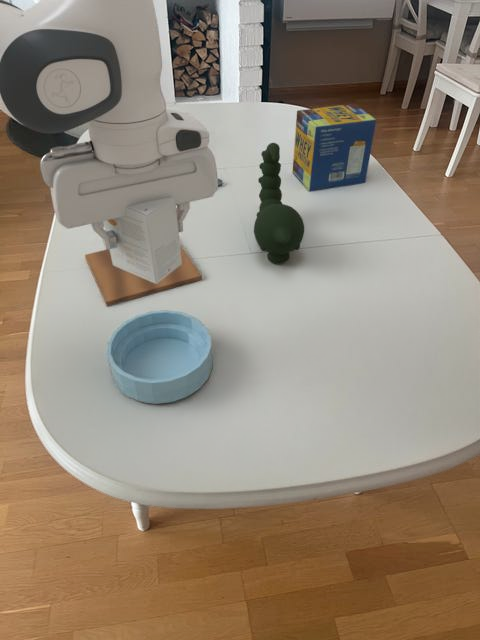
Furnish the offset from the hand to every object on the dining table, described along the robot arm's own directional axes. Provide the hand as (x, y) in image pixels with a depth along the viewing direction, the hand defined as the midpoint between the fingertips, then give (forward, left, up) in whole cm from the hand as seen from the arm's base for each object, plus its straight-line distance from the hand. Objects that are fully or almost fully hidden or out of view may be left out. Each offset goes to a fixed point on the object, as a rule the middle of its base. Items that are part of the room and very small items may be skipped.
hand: (144, 238), depth 68 cm
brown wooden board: (+4, +23, -21) cm, 31 cm away
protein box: (+57, +40, -21) cm, 73 cm away
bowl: (-1, -3, -21) cm, 21 cm away
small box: (0, 0, -5) cm, 5 cm away
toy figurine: (+31, +20, -21) cm, 43 cm away
